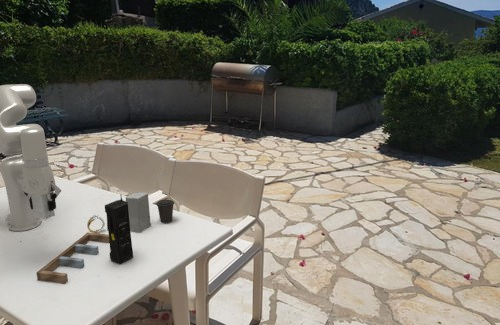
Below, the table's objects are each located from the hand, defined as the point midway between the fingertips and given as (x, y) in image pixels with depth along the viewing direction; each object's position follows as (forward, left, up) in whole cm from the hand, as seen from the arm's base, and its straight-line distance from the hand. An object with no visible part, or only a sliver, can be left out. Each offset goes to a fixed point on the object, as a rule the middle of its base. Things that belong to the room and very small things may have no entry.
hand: (43, 208), depth 137 cm
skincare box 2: (+22, +29, -20) cm, 42 cm away
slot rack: (+11, 0, -20) cm, 23 cm away
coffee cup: (+31, +38, -20) cm, 53 cm away
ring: (+6, +21, -20) cm, 30 cm away
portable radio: (+27, +3, -20) cm, 34 cm away
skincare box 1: (0, 0, -3) cm, 3 cm away
